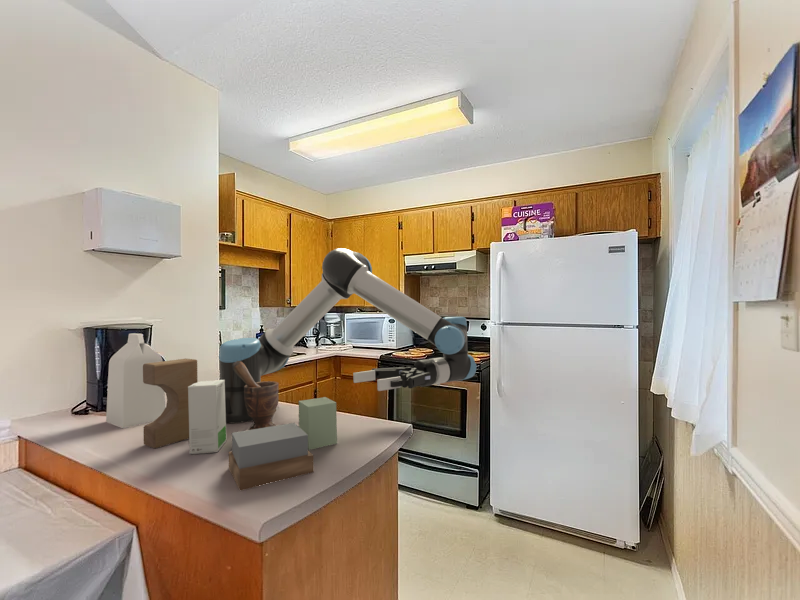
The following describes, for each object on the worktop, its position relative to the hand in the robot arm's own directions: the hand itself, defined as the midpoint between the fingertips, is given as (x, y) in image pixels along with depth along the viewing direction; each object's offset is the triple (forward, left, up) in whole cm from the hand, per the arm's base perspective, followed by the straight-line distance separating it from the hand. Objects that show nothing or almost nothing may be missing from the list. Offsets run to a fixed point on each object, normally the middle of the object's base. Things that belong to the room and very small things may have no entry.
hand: (365, 381), depth 104 cm
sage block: (0, -13, -13) cm, 19 cm away
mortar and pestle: (-14, -24, -14) cm, 31 cm away
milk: (-51, -51, -14) cm, 74 cm away
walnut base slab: (+10, -27, -14) cm, 32 cm away
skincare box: (-12, -36, -14) cm, 40 cm away
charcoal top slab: (+10, -27, -10) cm, 31 cm away
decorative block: (-23, -43, -14) cm, 51 cm away
